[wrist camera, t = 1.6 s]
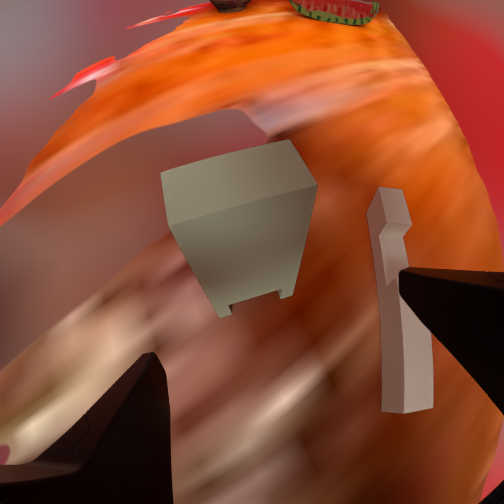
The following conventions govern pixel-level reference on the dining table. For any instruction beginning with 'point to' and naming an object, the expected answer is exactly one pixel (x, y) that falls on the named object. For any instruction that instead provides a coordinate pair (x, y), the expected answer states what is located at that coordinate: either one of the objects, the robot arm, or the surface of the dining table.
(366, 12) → the fruit slice
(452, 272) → the robot arm
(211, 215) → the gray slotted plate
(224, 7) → the ceramic jug
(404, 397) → the white rectangular bar
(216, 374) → the dining table surface
